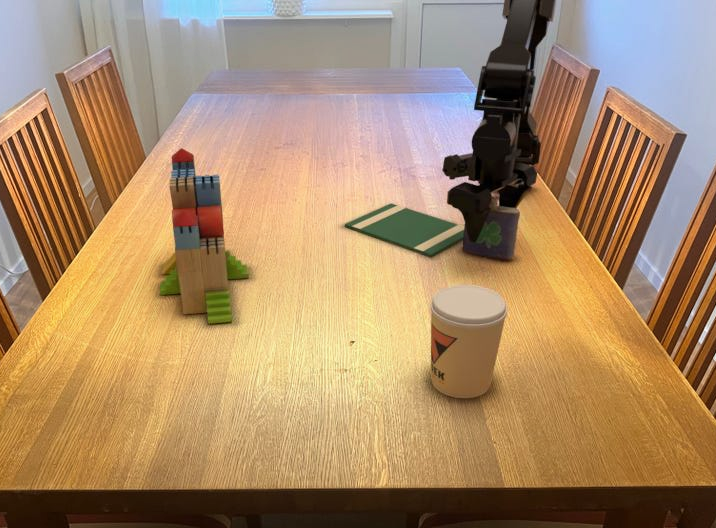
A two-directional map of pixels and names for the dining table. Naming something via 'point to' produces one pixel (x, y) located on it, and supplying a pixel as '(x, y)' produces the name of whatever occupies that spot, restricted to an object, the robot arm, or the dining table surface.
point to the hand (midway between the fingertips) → (487, 233)
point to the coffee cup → (465, 339)
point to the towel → (409, 229)
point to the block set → (199, 244)
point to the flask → (495, 234)
